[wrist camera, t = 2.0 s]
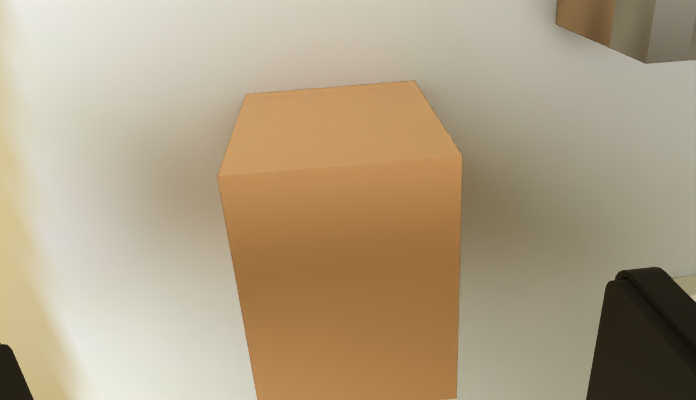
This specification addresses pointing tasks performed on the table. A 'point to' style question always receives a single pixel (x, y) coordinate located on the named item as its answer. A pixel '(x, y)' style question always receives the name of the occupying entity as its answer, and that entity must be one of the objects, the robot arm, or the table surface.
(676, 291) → the robot arm
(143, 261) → the table surface
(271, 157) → the tan block
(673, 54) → the brown wooden box
